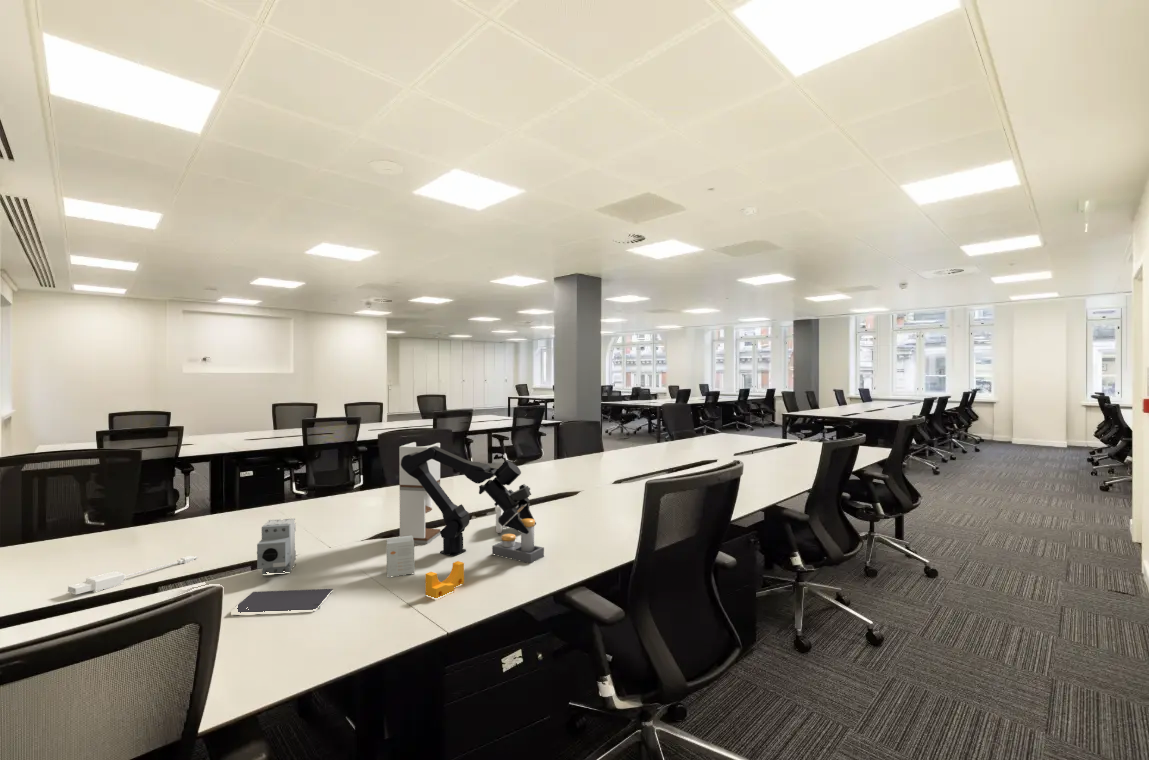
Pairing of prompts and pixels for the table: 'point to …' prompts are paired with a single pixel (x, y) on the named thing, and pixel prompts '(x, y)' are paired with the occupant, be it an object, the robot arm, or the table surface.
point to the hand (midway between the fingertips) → (531, 528)
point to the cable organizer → (498, 514)
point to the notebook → (283, 600)
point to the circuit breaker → (277, 546)
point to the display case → (416, 499)
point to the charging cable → (113, 578)
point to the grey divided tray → (516, 550)
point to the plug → (528, 536)
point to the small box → (400, 556)
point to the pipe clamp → (441, 588)
